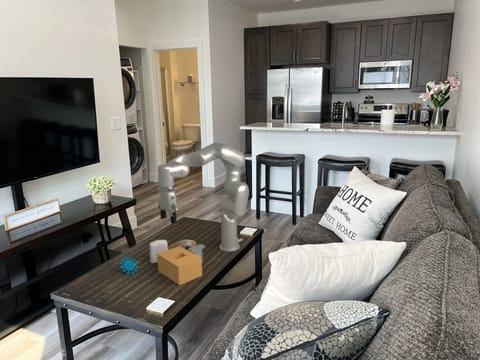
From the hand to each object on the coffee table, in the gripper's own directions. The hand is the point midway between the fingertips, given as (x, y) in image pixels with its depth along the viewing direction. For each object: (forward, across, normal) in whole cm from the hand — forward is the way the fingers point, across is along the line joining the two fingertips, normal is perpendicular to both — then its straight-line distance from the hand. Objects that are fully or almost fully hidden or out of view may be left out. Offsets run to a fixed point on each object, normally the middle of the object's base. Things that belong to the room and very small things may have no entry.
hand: (168, 220), depth 184 cm
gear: (+29, +14, +16) cm, 36 cm away
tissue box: (+28, -6, -2) cm, 29 cm away
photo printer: (+28, +15, -1) cm, 32 cm away
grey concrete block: (+28, -2, -16) cm, 32 cm away
